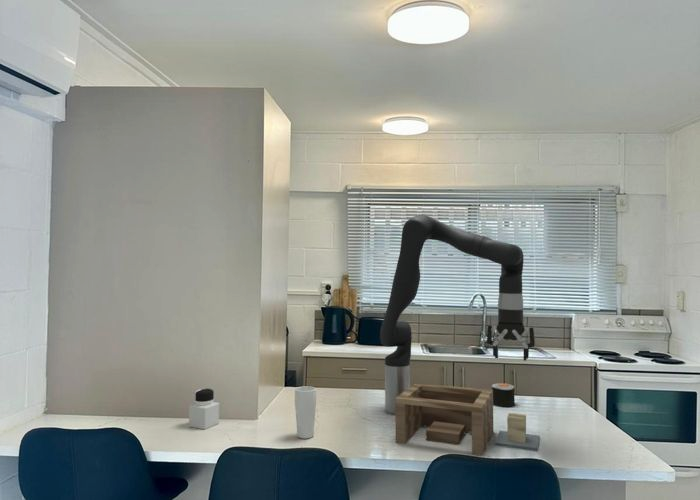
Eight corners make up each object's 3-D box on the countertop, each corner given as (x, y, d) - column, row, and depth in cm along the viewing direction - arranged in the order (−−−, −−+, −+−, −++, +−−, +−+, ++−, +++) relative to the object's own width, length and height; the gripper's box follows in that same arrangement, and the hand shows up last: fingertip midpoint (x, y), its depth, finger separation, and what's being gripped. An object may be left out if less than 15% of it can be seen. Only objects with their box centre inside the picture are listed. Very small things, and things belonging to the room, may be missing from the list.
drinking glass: (294, 433, 160) (295, 386, 161) (316, 432, 161) (316, 385, 161) (294, 440, 153) (294, 391, 154) (316, 439, 154) (316, 391, 154)
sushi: (496, 400, 199) (496, 380, 199) (517, 404, 194) (517, 383, 194) (489, 405, 192) (488, 384, 193) (510, 408, 187) (510, 387, 188)
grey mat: (499, 432, 160) (499, 430, 160) (539, 438, 155) (539, 435, 155) (494, 445, 149) (494, 442, 149) (537, 451, 144) (537, 448, 144)
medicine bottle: (219, 423, 170) (219, 388, 170) (205, 429, 163) (205, 393, 164) (203, 421, 173) (203, 386, 173) (188, 427, 166) (188, 390, 167)
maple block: (509, 435, 155) (509, 412, 156) (526, 437, 153) (525, 414, 153) (507, 440, 151) (507, 417, 151) (524, 442, 149) (524, 419, 149)
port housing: (415, 422, 171) (415, 382, 172) (493, 432, 161) (492, 390, 161) (395, 442, 151) (395, 398, 152) (482, 455, 141) (482, 407, 141)
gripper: (535, 307, 157) (535, 358, 156) (489, 305, 163) (489, 355, 162) (533, 309, 150) (533, 363, 150) (485, 307, 156) (485, 359, 155)
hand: (510, 359), depth 156 cm, fingers open, 8 cm apart
